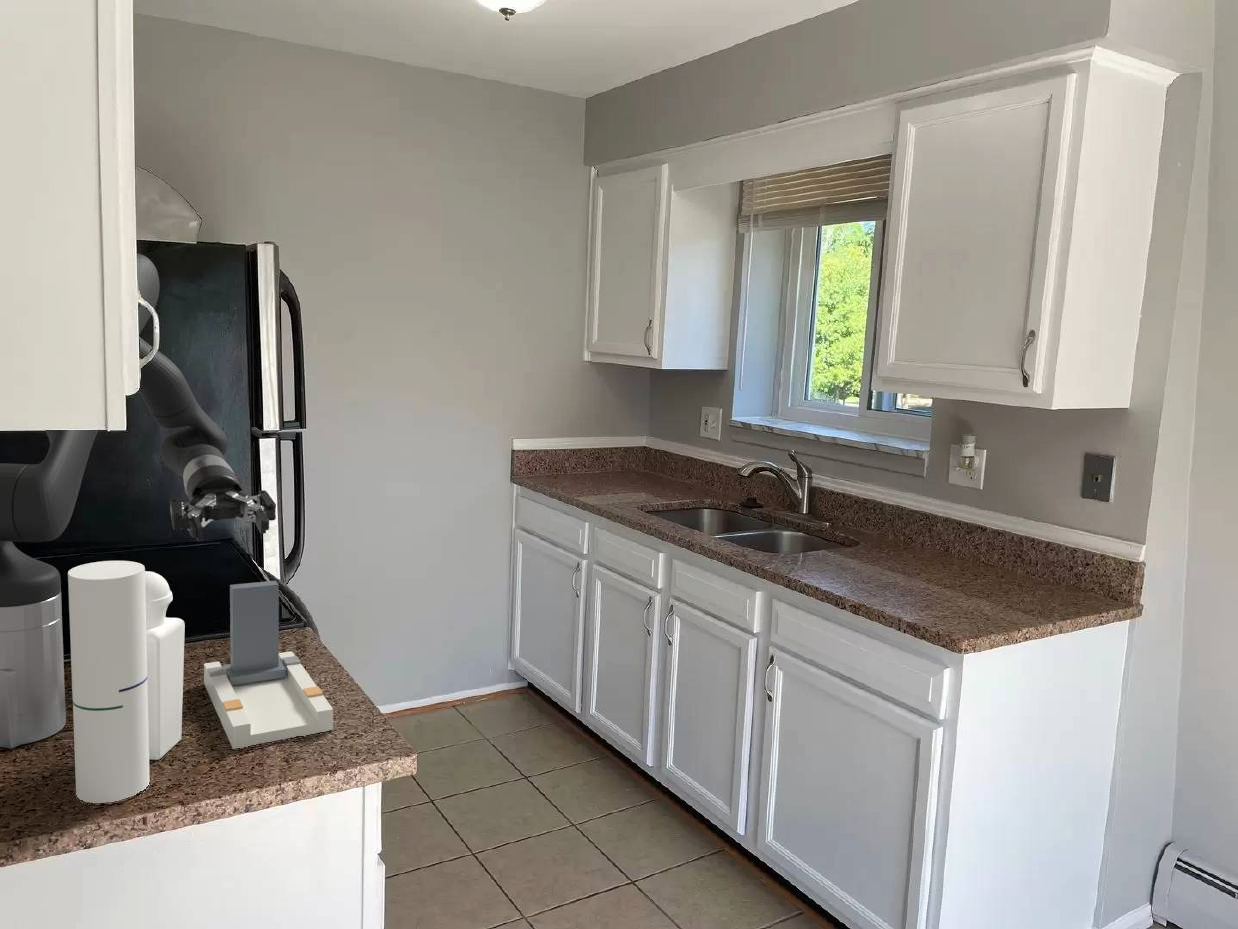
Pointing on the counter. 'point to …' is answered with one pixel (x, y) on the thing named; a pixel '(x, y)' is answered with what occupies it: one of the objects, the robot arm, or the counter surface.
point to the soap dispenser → (163, 667)
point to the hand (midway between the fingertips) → (232, 531)
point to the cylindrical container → (109, 679)
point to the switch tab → (254, 633)
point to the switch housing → (268, 705)
